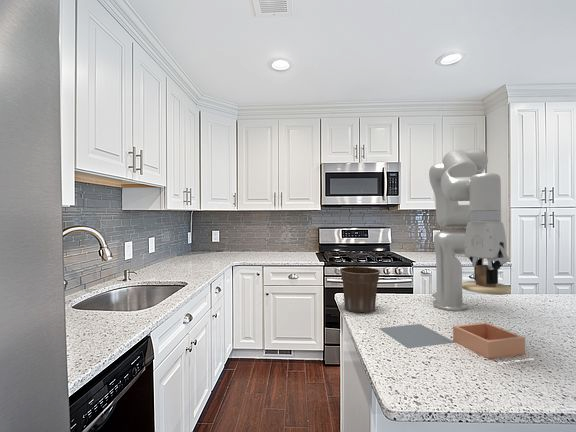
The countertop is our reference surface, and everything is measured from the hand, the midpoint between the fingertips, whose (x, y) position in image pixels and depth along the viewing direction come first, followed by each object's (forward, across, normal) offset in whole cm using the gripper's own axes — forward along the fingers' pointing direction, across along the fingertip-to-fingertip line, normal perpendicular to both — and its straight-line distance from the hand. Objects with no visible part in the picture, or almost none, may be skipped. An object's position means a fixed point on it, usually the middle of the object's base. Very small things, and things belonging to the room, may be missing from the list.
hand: (485, 281), depth 86 cm
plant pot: (+19, -44, -17) cm, 51 cm away
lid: (+2, 0, 0) cm, 2 cm away
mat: (+19, -13, -14) cm, 27 cm away
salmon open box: (+19, 0, 0) cm, 19 cm away
